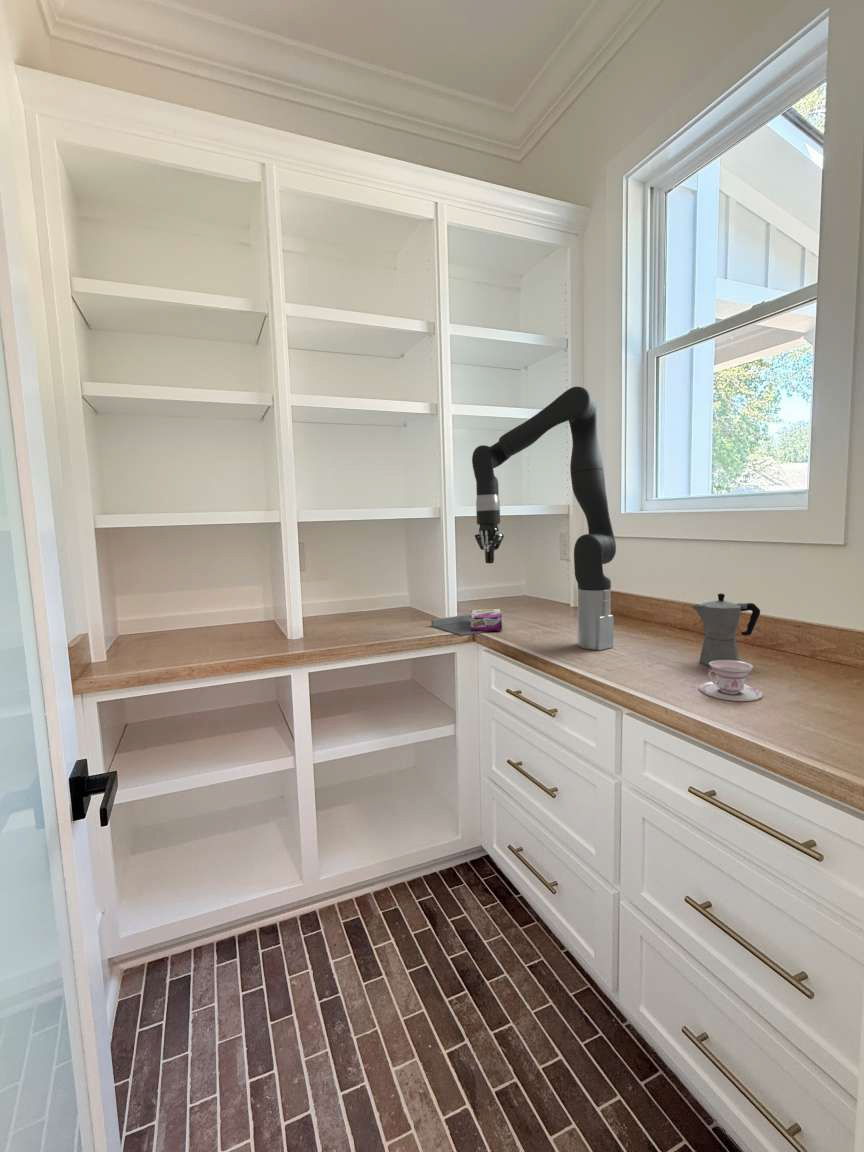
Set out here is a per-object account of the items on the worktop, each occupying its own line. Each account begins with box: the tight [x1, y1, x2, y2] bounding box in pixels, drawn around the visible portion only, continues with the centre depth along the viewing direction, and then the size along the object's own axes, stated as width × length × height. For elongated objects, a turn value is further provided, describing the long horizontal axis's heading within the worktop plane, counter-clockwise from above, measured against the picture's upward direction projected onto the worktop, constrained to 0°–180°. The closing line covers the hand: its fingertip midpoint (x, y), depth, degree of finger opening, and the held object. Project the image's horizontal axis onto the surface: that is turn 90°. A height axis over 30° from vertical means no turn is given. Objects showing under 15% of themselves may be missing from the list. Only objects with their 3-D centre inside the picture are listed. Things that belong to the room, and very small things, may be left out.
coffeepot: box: [691, 593, 761, 667], centre depth 134 cm, size 15×9×18 cm, turn 74°
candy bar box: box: [469, 608, 503, 632], centre depth 188 cm, size 11×5×16 cm
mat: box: [430, 614, 487, 637], centre depth 188 cm, size 20×16×2 cm
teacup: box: [698, 660, 764, 702], centre depth 114 cm, size 12×12×6 cm
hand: (489, 563), depth 172 cm, fingers closed
